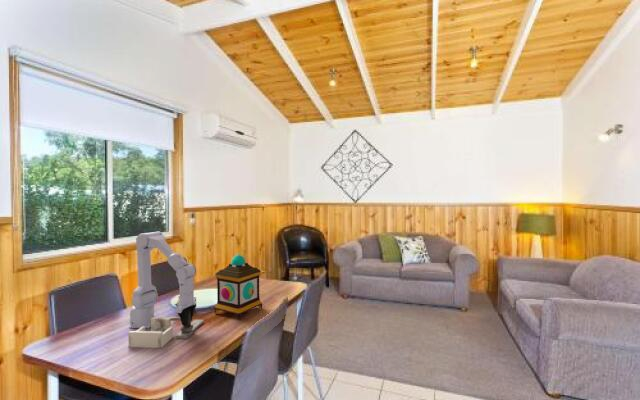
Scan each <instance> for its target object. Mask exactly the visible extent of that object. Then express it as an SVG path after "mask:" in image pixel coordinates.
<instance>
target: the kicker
mask: <svg viewBox="0 0 640 400" xmlns="http://www.w3.org/2000/svg"><path fill="white" fill-rule="evenodd" d="M156 320H157V322H158V321H159V323H160V324H161V328H162V329H163V332H164V331H166V330H167V329H168V328H169V327H172V323H171V322H176V321H177V322H181V319H180V317H179V316H169V317H154V318H152V319H151V327H150V331H151V330H152V325H153V323H154V322H155V323H156ZM191 322H192V321H191V312H190V314H189V319H188V325H181V327H180V332H181V331H191V330H192V329H193V325H191Z"/></svg>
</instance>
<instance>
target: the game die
mask: <svg viewBox="0 0 640 400" xmlns="http://www.w3.org/2000/svg"><path fill="white" fill-rule="evenodd" d="M179 303H180V295H179V296H178V299H177V301H176V302H175V304H174V306H176V308H177V307H178V305H179Z"/></svg>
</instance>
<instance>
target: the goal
mask: <svg viewBox="0 0 640 400" xmlns="http://www.w3.org/2000/svg"><path fill="white" fill-rule="evenodd" d="M127 336H128V348H149V349H151V348H157V349H158V348H159V349H161V348H162V347H164V346H165V345H166V344H167V343H168V342H169V341H171V340H172V338H174V327H173V326H171V327H169V328H168V329H167V330H166V331H164V332H160V331H151V330H150V331H149V330H148V331H147V330H146V328H145V326H142V327H141V328H137V329H136V330H129V331H128V335H127Z"/></svg>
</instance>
